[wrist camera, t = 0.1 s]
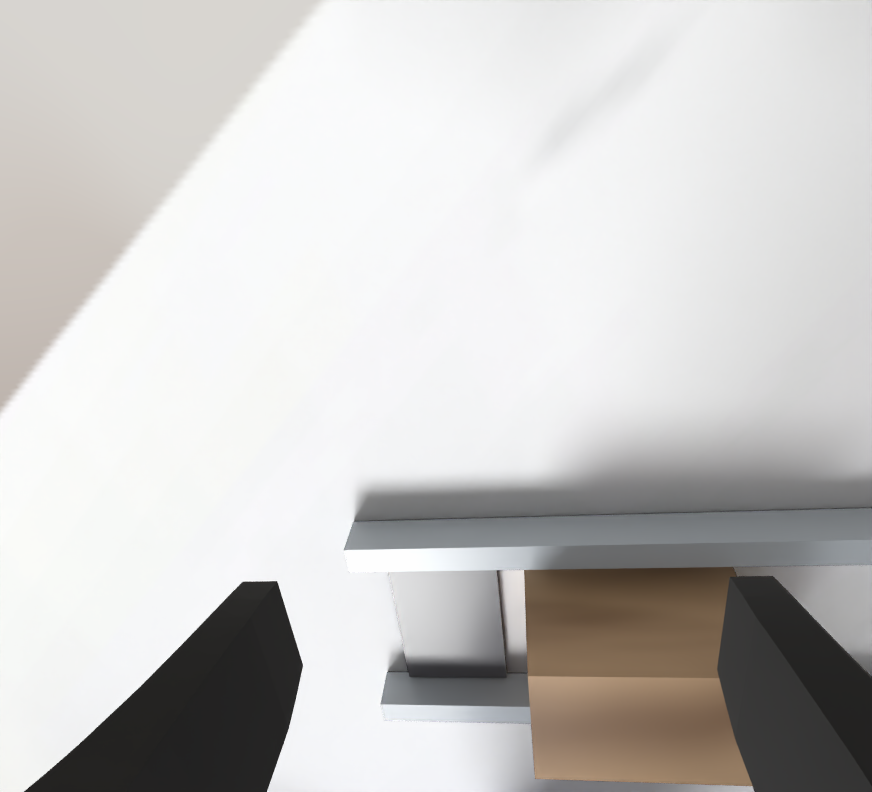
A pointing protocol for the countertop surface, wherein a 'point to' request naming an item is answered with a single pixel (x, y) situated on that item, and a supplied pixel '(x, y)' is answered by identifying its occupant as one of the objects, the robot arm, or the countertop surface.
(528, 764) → the countertop surface
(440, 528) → the channel
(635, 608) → the brown rectangular block
